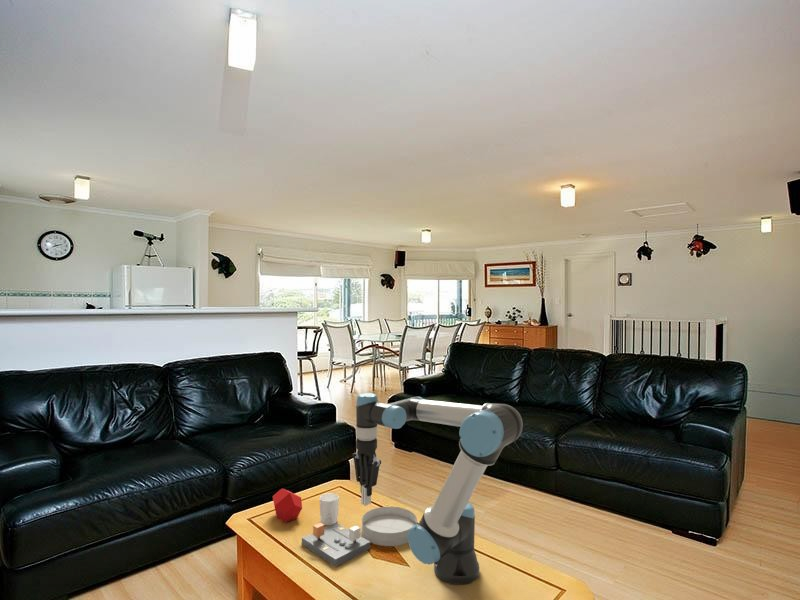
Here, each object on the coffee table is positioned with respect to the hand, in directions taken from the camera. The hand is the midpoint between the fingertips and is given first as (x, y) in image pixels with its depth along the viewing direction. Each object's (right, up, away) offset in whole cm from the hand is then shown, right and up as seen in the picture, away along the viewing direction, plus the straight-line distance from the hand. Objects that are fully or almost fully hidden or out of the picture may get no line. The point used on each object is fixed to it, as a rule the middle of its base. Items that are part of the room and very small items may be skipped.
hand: (366, 503), depth 165 cm
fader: (-18, -16, +6) cm, 24 cm away
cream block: (-5, -16, +4) cm, 17 cm away
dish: (+8, -19, +17) cm, 27 cm away
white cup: (-17, -18, +25) cm, 35 cm away
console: (-12, -18, +6) cm, 22 cm away
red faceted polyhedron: (-35, -18, +28) cm, 49 cm away
